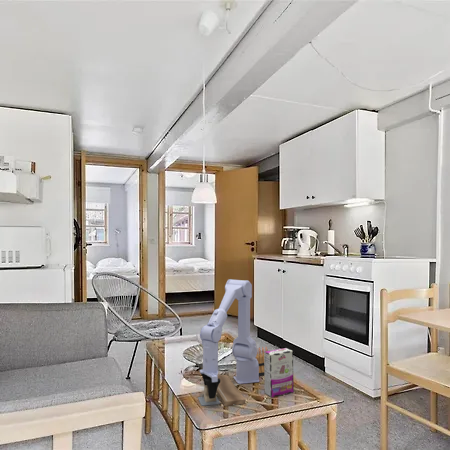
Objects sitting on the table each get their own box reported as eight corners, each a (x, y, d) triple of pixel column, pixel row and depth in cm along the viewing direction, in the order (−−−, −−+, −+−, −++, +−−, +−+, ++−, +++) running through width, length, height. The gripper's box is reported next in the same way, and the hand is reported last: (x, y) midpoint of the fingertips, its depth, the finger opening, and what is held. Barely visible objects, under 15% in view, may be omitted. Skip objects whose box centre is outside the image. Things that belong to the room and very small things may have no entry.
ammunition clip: (251, 377, 159) (248, 348, 162) (249, 376, 160) (246, 348, 164) (272, 373, 163) (268, 346, 167) (270, 373, 165) (266, 346, 168)
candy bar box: (286, 388, 147) (286, 347, 148) (294, 392, 143) (293, 350, 144) (263, 393, 142) (263, 351, 143) (270, 398, 138) (270, 354, 139)
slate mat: (215, 396, 139) (215, 395, 139) (220, 403, 133) (220, 402, 133) (197, 398, 137) (197, 397, 137) (201, 406, 131) (201, 405, 131)
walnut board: (226, 378, 158) (226, 374, 158) (245, 403, 133) (245, 399, 133) (208, 380, 155) (208, 376, 156) (224, 406, 130) (224, 401, 131)
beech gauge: (214, 397, 137) (214, 381, 137) (216, 401, 134) (216, 384, 135) (204, 398, 136) (204, 382, 136) (205, 402, 133) (205, 385, 133)
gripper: (196, 353, 142) (196, 388, 141) (204, 365, 128) (203, 404, 127) (213, 351, 144) (213, 386, 143) (223, 363, 130) (223, 401, 129)
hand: (210, 394), depth 135 cm, fingers open, 5 cm apart
